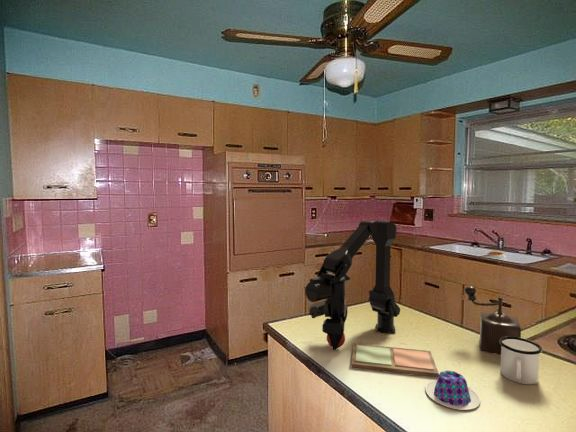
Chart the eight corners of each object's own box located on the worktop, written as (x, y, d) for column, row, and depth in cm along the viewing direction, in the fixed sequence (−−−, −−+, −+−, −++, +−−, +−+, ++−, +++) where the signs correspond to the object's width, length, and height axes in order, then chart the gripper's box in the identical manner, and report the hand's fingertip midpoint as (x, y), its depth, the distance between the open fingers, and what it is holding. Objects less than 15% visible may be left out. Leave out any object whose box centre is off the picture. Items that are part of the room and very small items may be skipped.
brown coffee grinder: (516, 343, 107) (518, 289, 106) (521, 359, 98) (523, 299, 96) (462, 334, 115) (463, 283, 114) (462, 347, 105) (463, 292, 104)
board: (353, 347, 106) (353, 342, 106) (430, 354, 101) (430, 350, 101) (351, 367, 94) (351, 362, 94) (438, 377, 88) (438, 372, 88)
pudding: (462, 381, 87) (462, 362, 87) (491, 412, 75) (492, 389, 75) (417, 383, 87) (417, 364, 86) (439, 413, 75) (440, 391, 74)
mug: (499, 363, 95) (500, 333, 95) (540, 373, 90) (541, 341, 89) (495, 383, 86) (496, 349, 85) (541, 396, 80) (543, 360, 79)
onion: (344, 354, 102) (344, 328, 101) (326, 352, 103) (326, 327, 103) (345, 345, 108) (345, 321, 107) (327, 344, 109) (327, 320, 108)
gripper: (315, 285, 115) (315, 329, 116) (305, 303, 97) (305, 354, 98) (347, 287, 112) (347, 332, 114) (343, 306, 94) (343, 358, 96)
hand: (336, 343), depth 105 cm, fingers open, 9 cm apart
